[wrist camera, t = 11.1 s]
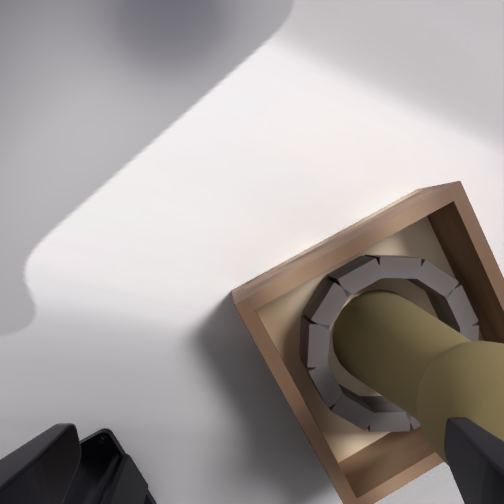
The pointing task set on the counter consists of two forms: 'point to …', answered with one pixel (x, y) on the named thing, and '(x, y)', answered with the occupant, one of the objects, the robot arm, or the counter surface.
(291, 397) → the socket box
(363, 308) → the olive knobbed peg
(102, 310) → the counter surface
